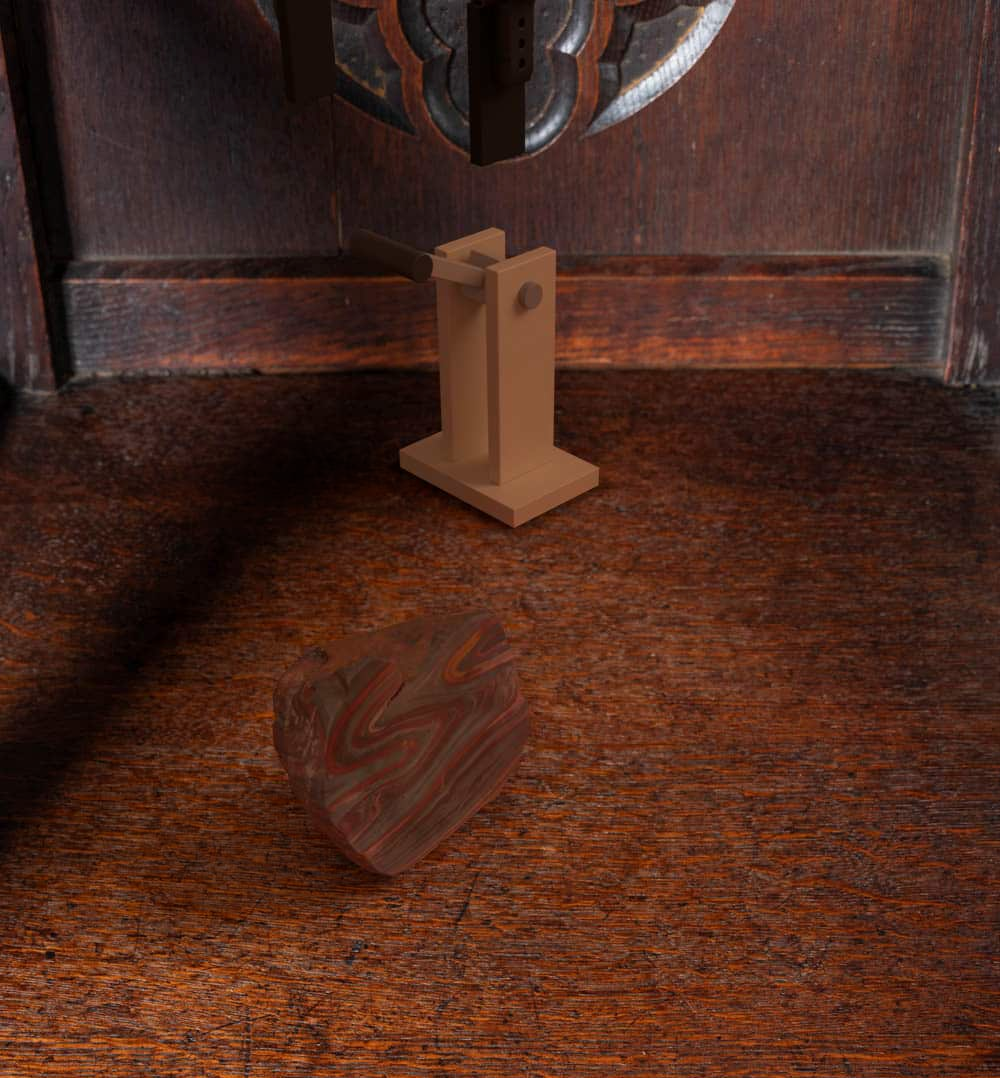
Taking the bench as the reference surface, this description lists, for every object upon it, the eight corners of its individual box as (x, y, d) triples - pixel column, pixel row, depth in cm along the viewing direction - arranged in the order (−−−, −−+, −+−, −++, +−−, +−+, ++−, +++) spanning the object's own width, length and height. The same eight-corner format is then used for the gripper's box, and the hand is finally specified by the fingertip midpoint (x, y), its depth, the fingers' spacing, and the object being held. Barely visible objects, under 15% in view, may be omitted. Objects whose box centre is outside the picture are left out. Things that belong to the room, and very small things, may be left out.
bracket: (513, 528, 82) (512, 292, 73) (400, 467, 87) (385, 241, 78) (598, 485, 85) (607, 255, 77) (484, 429, 91) (479, 209, 82)
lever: (405, 290, 71) (419, 241, 70) (342, 263, 74) (355, 216, 73) (537, 319, 79) (551, 276, 78) (475, 294, 82) (488, 251, 81)
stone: (360, 932, 58) (339, 740, 51) (213, 845, 62) (176, 657, 55) (543, 768, 65) (545, 584, 59) (402, 701, 69) (389, 521, 63)
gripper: (681, -460, 50) (647, 167, 64) (255, -451, 64) (302, 61, 78) (526, -459, 46) (526, 209, 60) (109, -450, 60) (186, 90, 74)
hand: (400, 127), depth 69 cm, fingers open, 13 cm apart
